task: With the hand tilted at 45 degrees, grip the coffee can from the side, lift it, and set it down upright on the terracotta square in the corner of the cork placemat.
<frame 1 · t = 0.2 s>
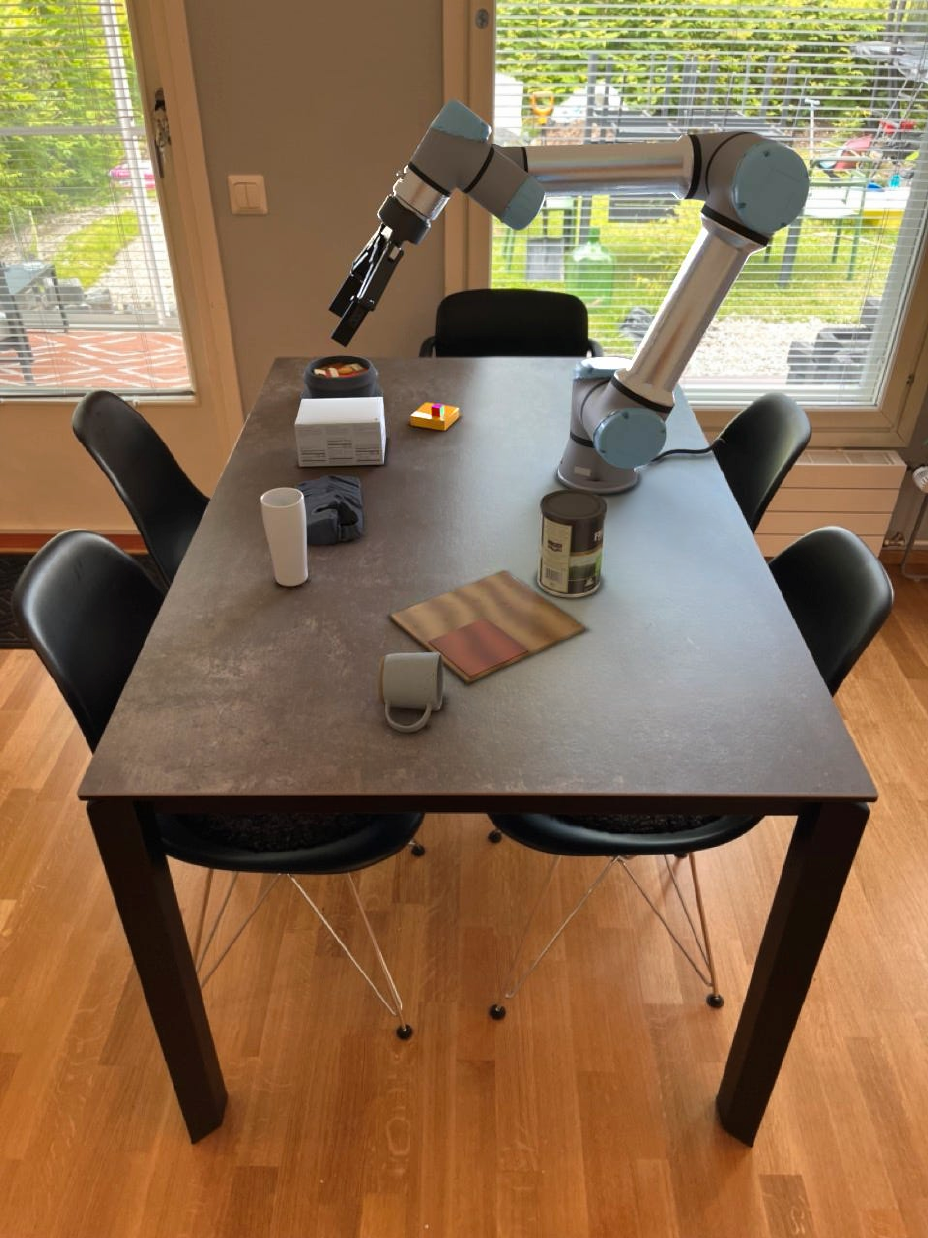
hand: (336, 327, 152), 36 cm above the table, tool tilted 35°, fingers open, 13 cm apart
ceramic mug: (413, 709, 131), on the table
supplement box: (343, 453, 198), on the table
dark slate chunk: (325, 515, 176), on the table
coffee can: (568, 581, 157), on the table
placemat: (487, 624, 147), on the table
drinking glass: (292, 580, 158), on the table
yellow tile with knob: (435, 421, 211), on the table
casserole: (342, 402, 220), on the table
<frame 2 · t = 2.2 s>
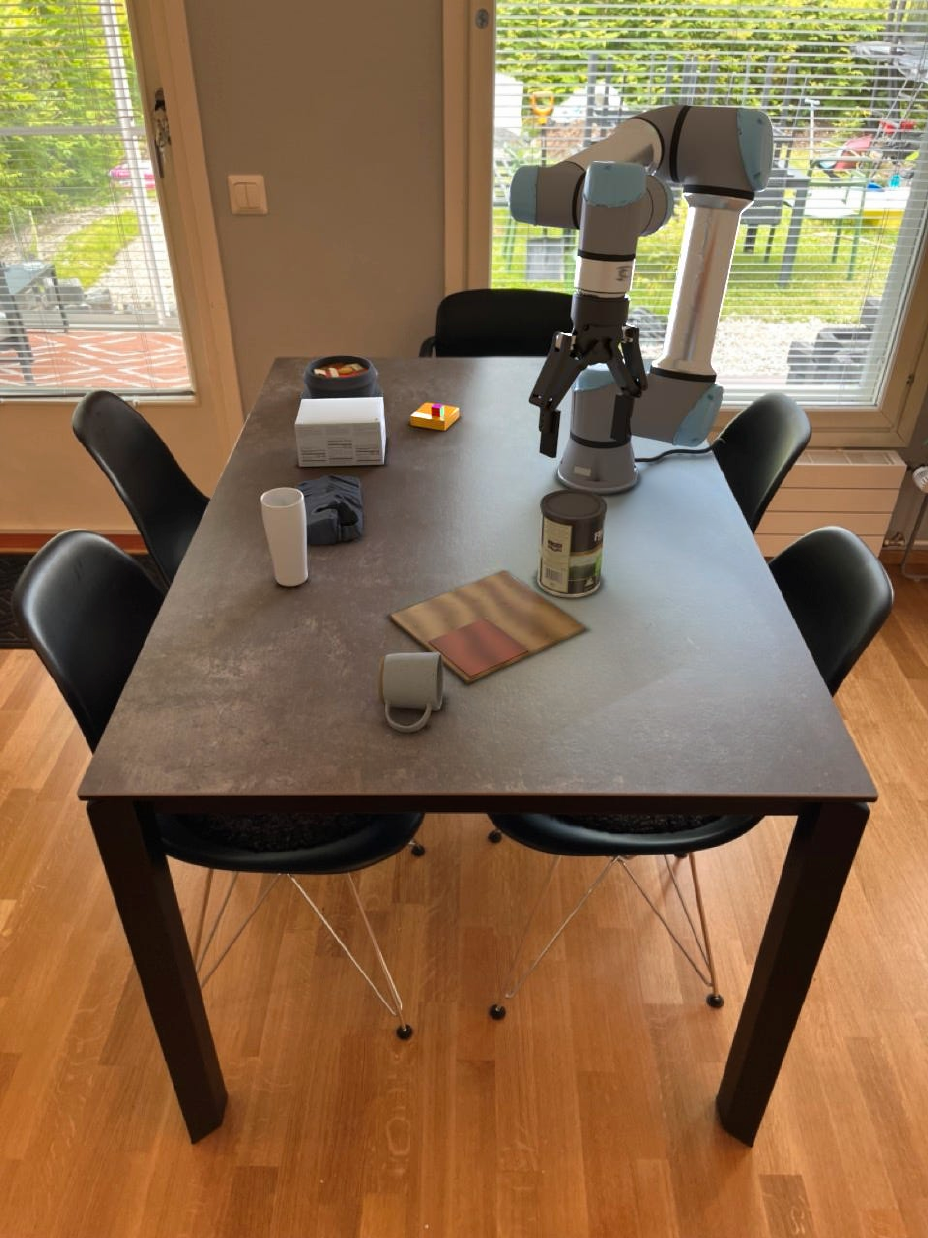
hand: (583, 447, 137), 26 cm above the table, tool pointing down, fingers open, 13 cm apart
nothing on the table moved.
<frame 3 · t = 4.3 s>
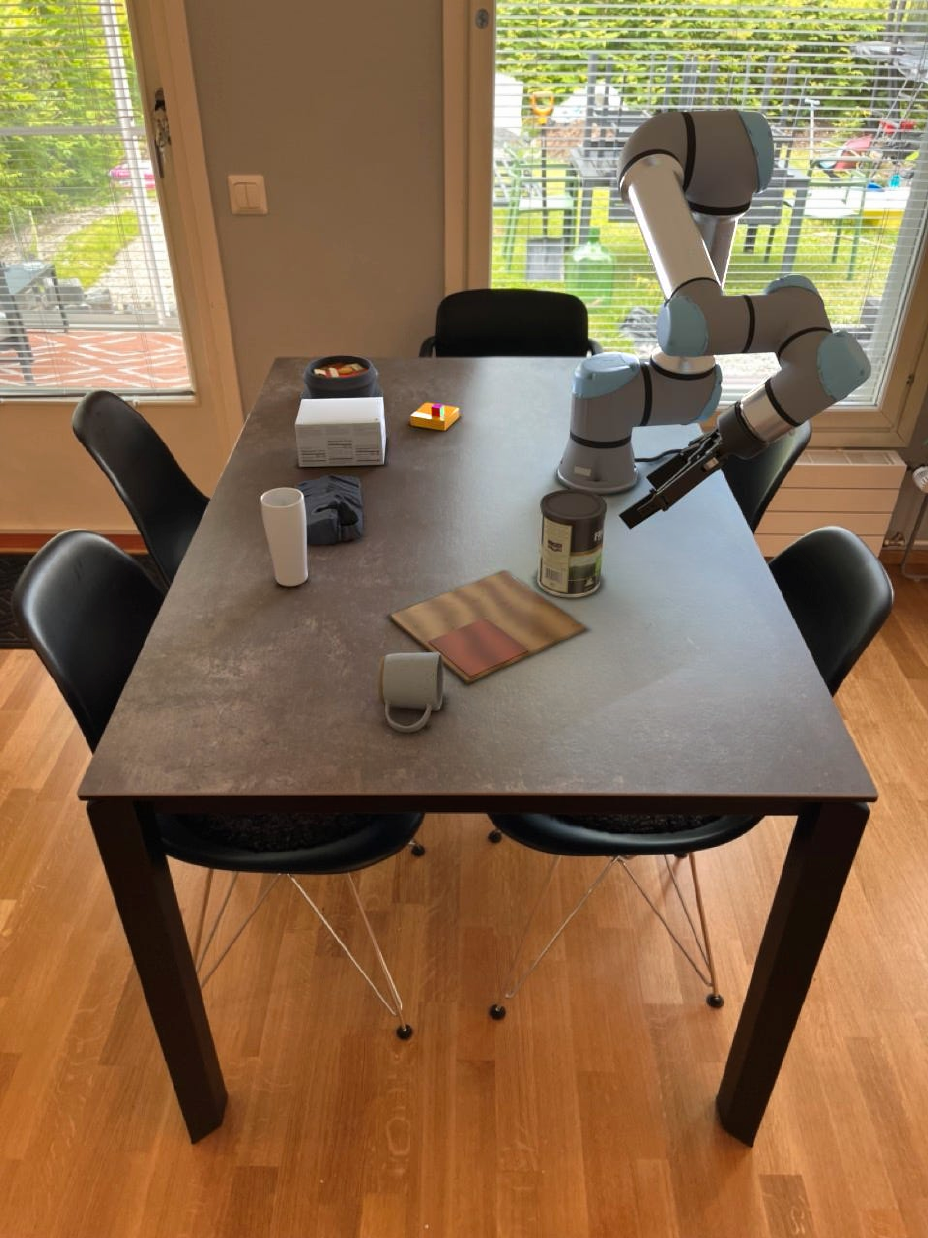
hand: (638, 501, 144), 17 cm above the table, tool tilted 45°, fingers open, 13 cm apart
nothing on the table moved.
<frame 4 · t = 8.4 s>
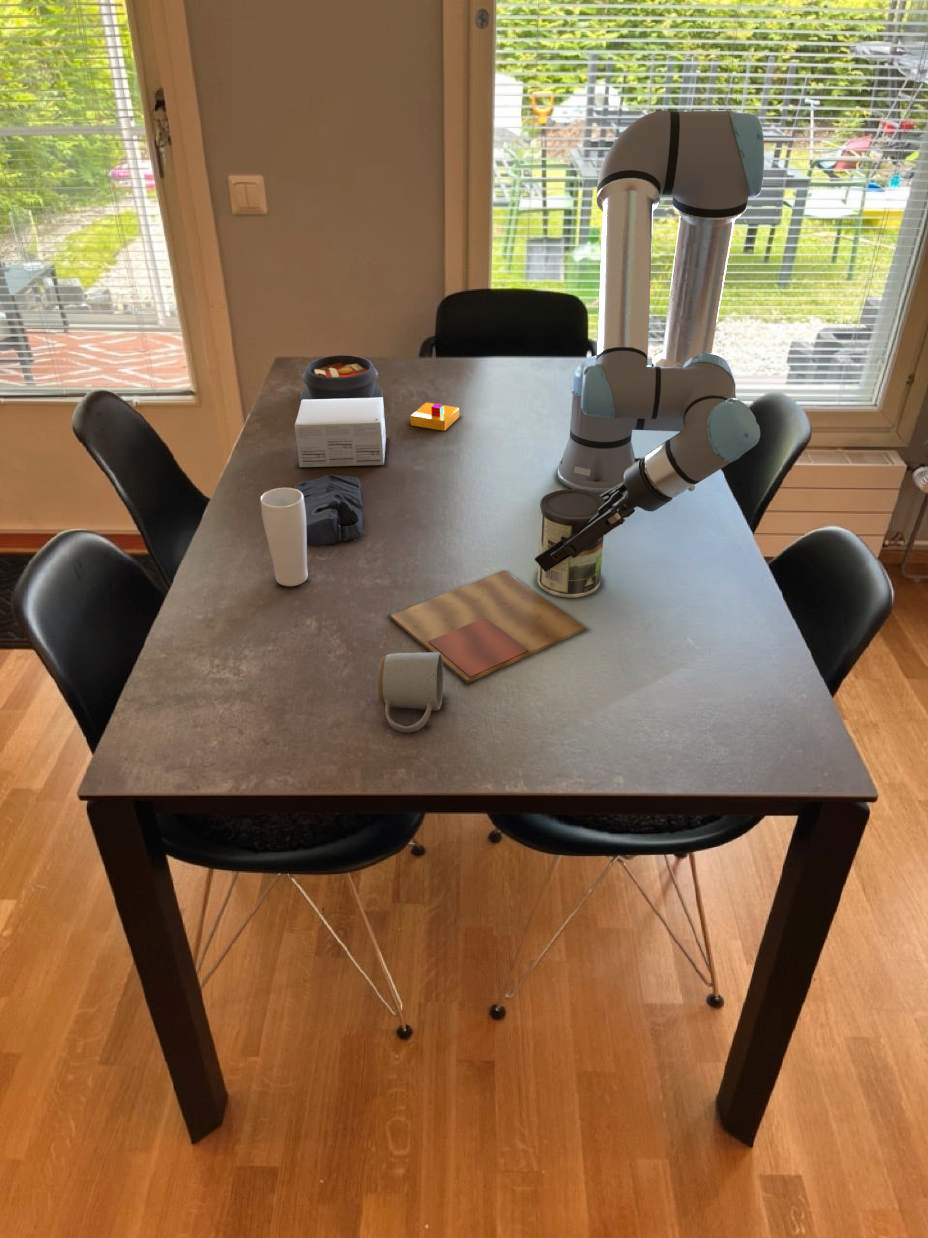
hand: (552, 548, 155), 5 cm above the table, tool tilted 45°, fingers closed on coffee can, 10 cm apart
coffee can: (568, 581, 157), on the table, touching gripper
everything else where it was.
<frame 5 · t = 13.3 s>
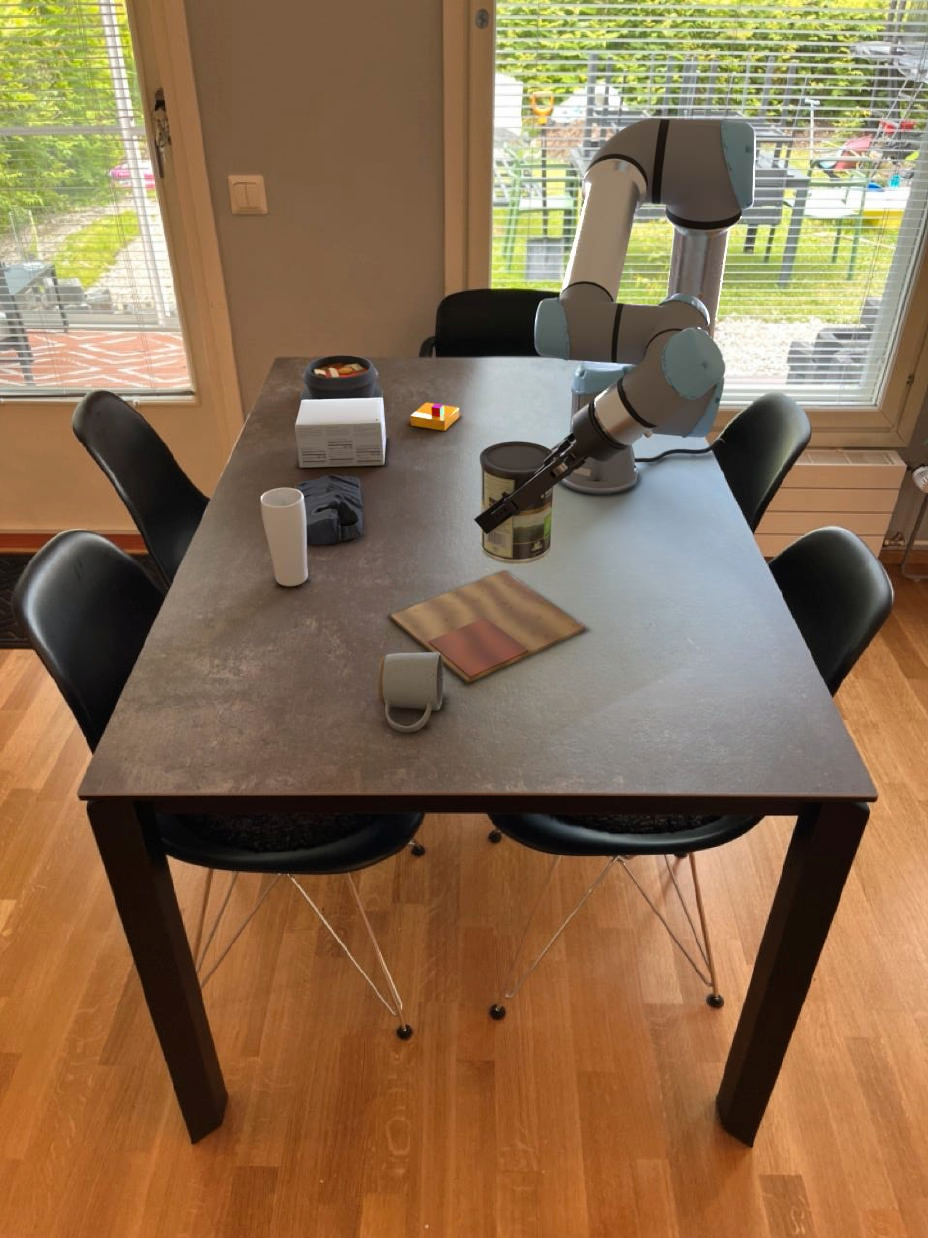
hand: (496, 508, 137), 19 cm above the table, tool tilted 45°, fingers closed on coffee can, 10 cm apart
coffee can: (515, 547, 140), point 14 cm above the table, touching gripper
everything else where it was.
when the fingers open (6 cm above the table, at t = 18.5 s): coffee can stays where it is, resting on placemat.
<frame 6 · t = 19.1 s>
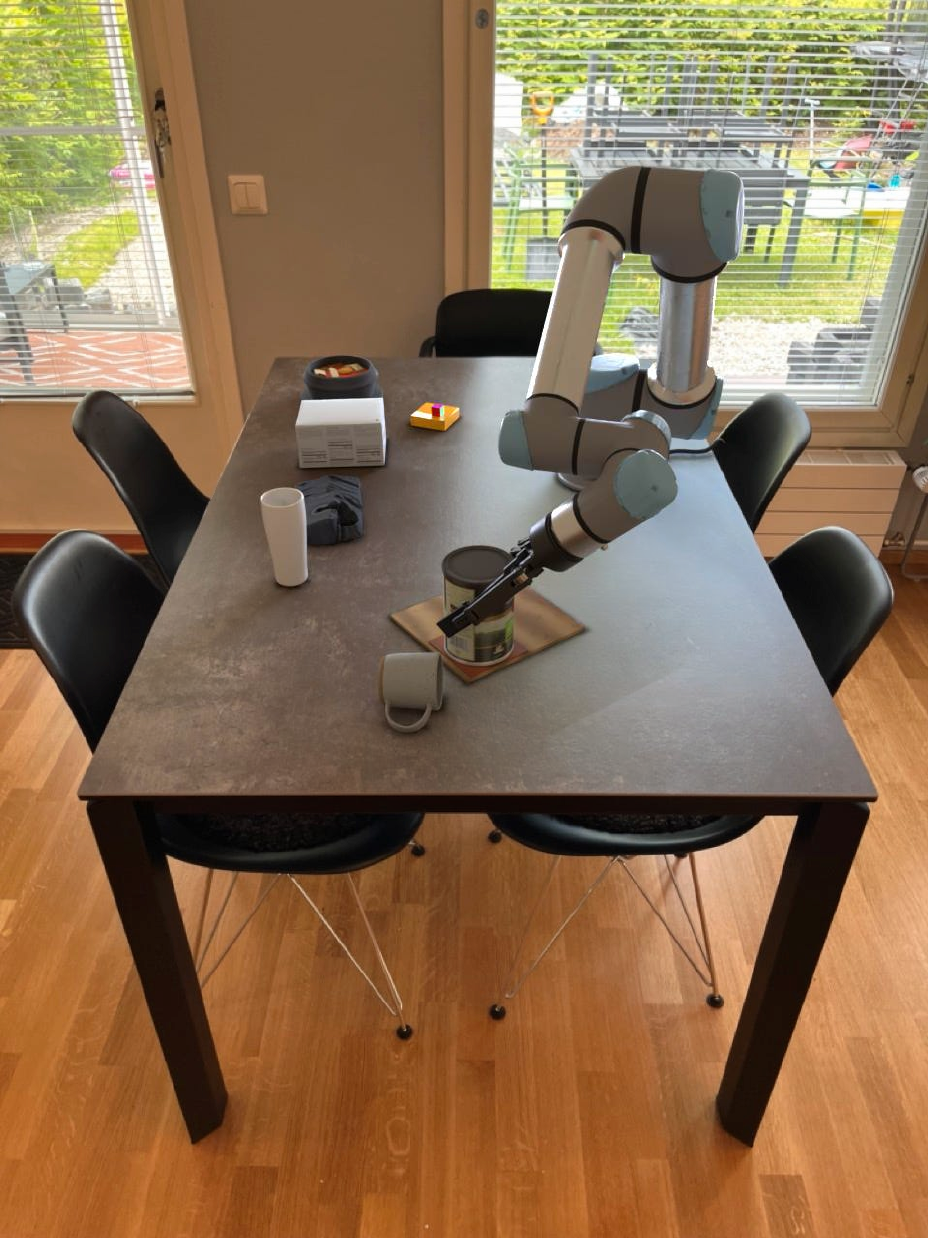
hand: (463, 604, 139), 7 cm above the table, tool tilted 45°, fingers open, 13 cm apart
coffee can: (478, 646, 142), point 1 cm above the table, touching placemat
everything else where it was.
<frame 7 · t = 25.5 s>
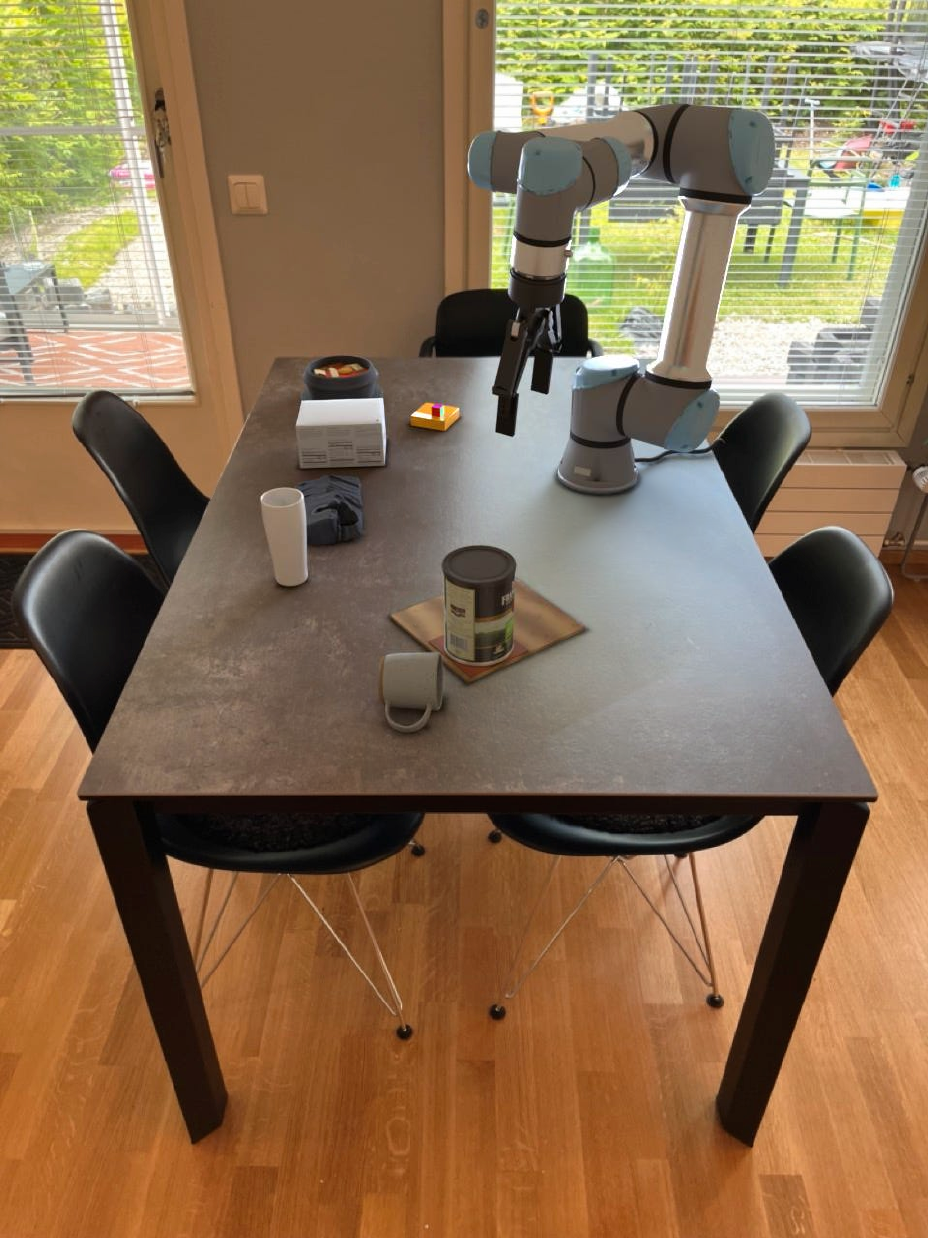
hand: (522, 412, 141), 29 cm above the table, tool pointing down, fingers open, 13 cm apart
nothing on the table moved.
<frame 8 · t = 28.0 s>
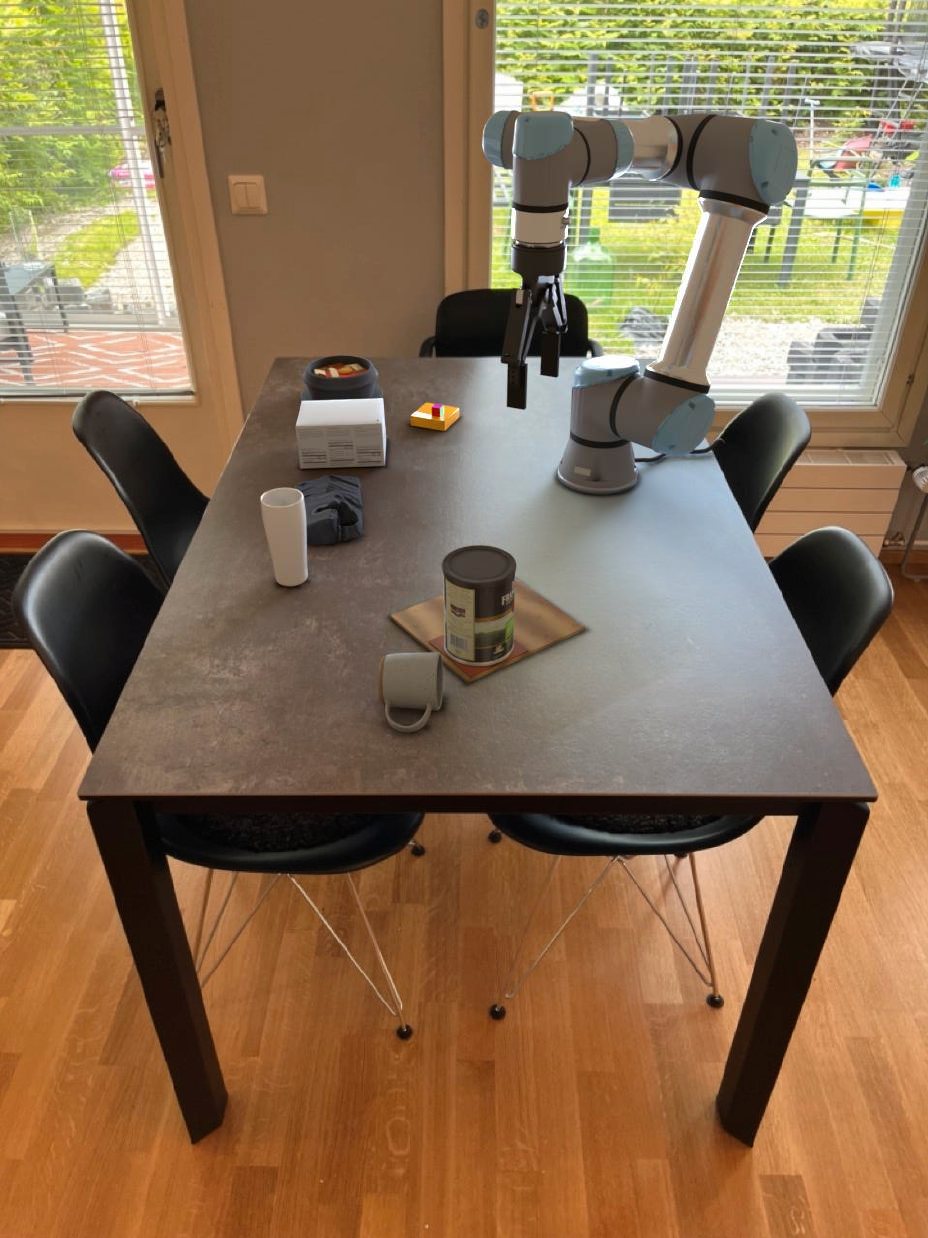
hand: (533, 391, 143), 31 cm above the table, tool pointing down, fingers open, 13 cm apart
nothing on the table moved.
at the end: coffee can inside the target area on the placemat (0.4 cm from its centre), point 0.6 cm above the placemat's base; coffee can tilted 0°; the gripper is holding nothing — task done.
